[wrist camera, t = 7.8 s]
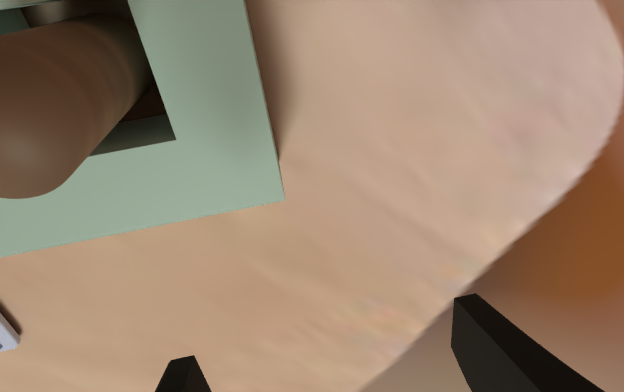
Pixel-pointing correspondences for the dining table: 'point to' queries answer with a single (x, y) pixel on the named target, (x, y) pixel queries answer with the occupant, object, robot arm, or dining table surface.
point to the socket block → (164, 135)
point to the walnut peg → (64, 96)
